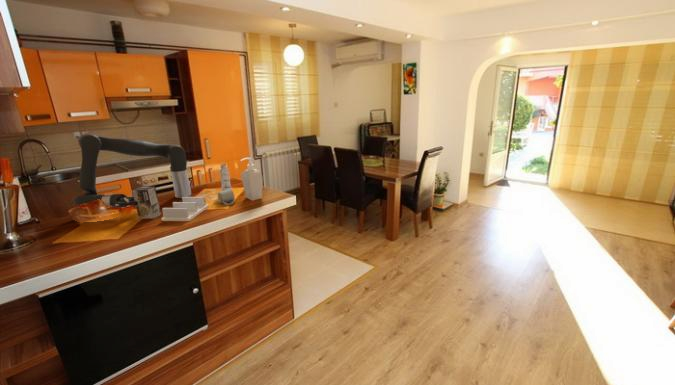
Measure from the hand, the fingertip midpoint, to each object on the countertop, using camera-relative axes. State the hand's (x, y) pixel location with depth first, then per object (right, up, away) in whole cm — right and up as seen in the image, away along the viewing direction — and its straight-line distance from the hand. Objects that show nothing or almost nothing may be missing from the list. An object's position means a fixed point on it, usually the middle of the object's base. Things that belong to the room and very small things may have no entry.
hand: (142, 200), depth 165 cm
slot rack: (+21, -7, +5) cm, 23 cm away
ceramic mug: (+38, -2, +22) cm, 44 cm away
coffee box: (+3, -9, +2) cm, 9 cm away
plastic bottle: (+32, +3, +38) cm, 50 cm away
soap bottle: (+51, +1, +29) cm, 59 cm away
